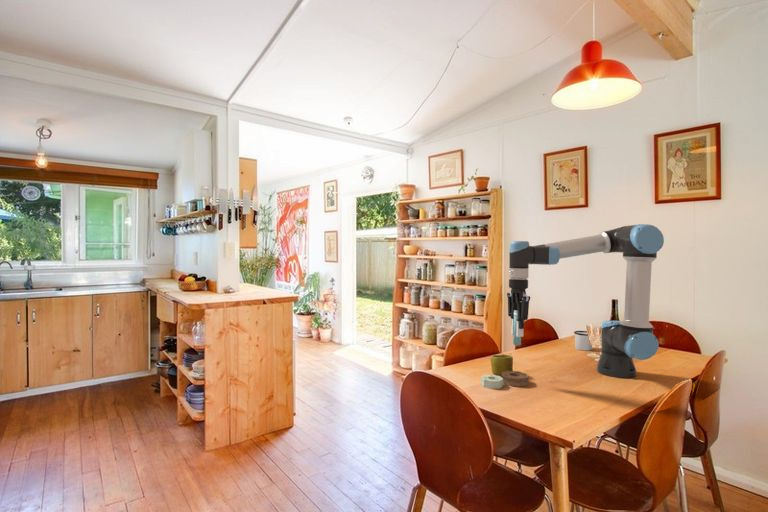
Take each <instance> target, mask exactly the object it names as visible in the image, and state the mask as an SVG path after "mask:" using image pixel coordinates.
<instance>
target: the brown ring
mask: <svg viewBox="0 0 768 512" xmlns="http://www.w3.org/2000/svg"><path fill="white" fill-rule="evenodd" d="M501 378H503V385H506V386H509V387H517V388H518V387H519V388H521V387H525V386H528V385H529V377H528V373H525V372H522V371H517V370H513V371H505V372H502V376H501Z"/></svg>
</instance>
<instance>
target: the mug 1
mask: <svg viewBox="0 0 768 512" xmlns="http://www.w3.org/2000/svg"><path fill="white" fill-rule="evenodd" d="M490 364H491V372H492V375H496V376H500V377H502V372H505V371H514V369H513V367H514V358H513V355H510V354H504V353H503V354H500V353H498V354H497V353H496V354H492V355H491V356H490Z"/></svg>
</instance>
